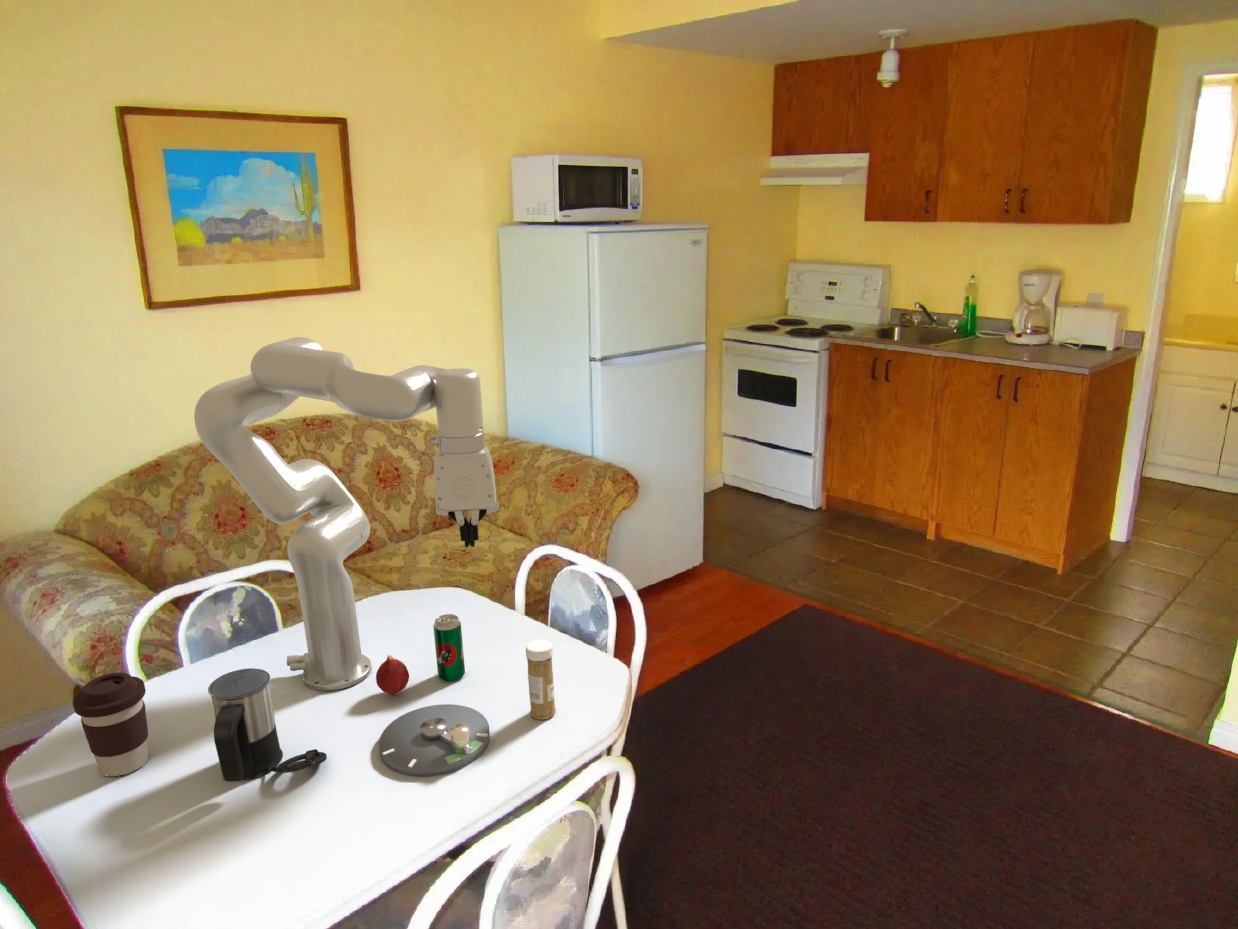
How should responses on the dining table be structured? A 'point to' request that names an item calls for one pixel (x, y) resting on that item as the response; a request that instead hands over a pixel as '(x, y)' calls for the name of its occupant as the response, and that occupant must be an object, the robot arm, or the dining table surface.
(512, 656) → the dining table surface
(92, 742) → the coffee cup
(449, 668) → the soda can
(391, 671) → the onion
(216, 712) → the milk frother
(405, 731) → the dial
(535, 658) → the spice jar
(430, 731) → the needle
